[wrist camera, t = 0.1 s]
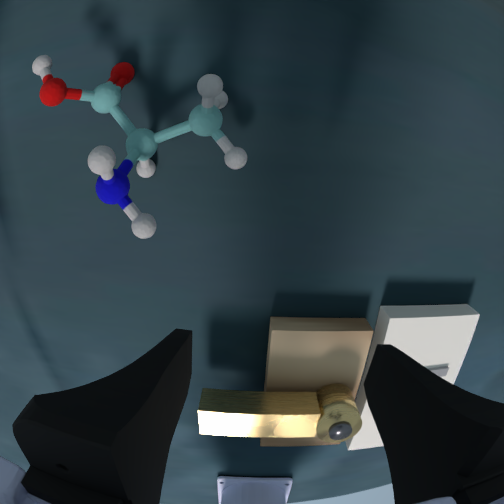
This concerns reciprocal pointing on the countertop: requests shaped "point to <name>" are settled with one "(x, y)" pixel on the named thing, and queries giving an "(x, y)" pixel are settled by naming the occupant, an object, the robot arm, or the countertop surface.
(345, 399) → the lock arm
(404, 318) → the door panel
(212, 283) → the countertop surface
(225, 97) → the molecular model
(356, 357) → the strip
